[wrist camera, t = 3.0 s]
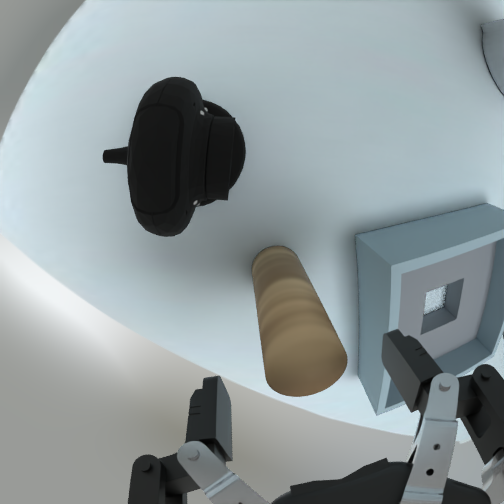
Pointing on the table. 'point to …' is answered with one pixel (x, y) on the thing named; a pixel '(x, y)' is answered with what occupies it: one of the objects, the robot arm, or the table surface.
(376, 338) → the box
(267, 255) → the peg
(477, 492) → the robot arm
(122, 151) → the webcam
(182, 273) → the table surface
